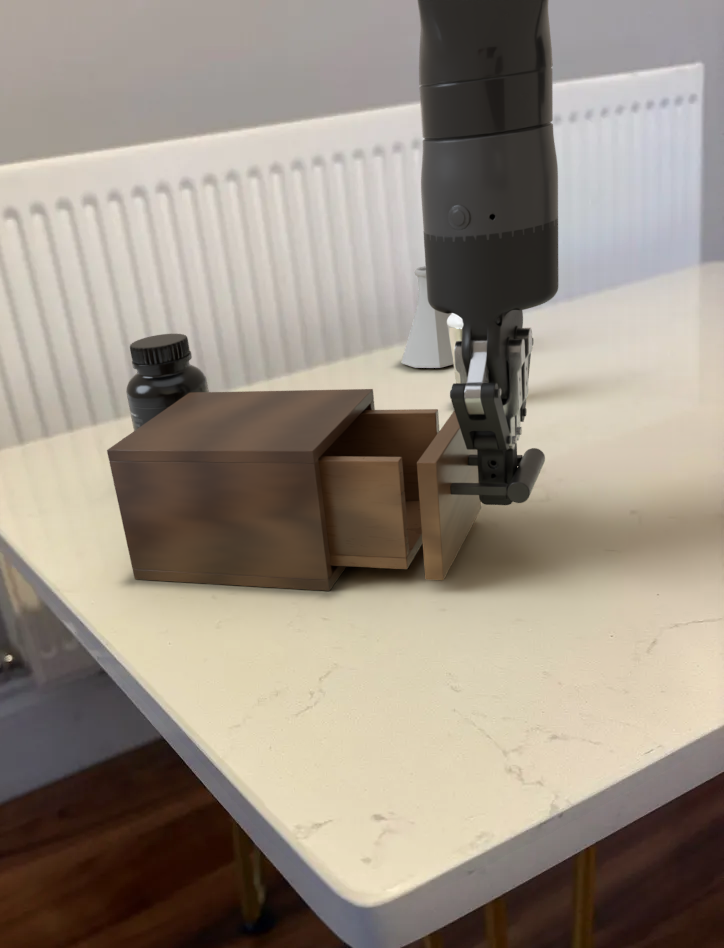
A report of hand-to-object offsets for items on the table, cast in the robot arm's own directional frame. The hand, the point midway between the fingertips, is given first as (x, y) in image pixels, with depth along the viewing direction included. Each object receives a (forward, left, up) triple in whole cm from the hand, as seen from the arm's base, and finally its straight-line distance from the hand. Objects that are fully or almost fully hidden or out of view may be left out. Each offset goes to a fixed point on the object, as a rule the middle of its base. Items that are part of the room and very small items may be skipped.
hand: (498, 500), depth 66 cm
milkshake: (+8, -32, -4) cm, 33 cm away
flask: (+16, -48, -4) cm, 51 cm away
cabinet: (+17, 0, -4) cm, 18 cm away
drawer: (+7, 0, -3) cm, 7 cm away
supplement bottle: (+30, -13, -4) cm, 33 cm away
